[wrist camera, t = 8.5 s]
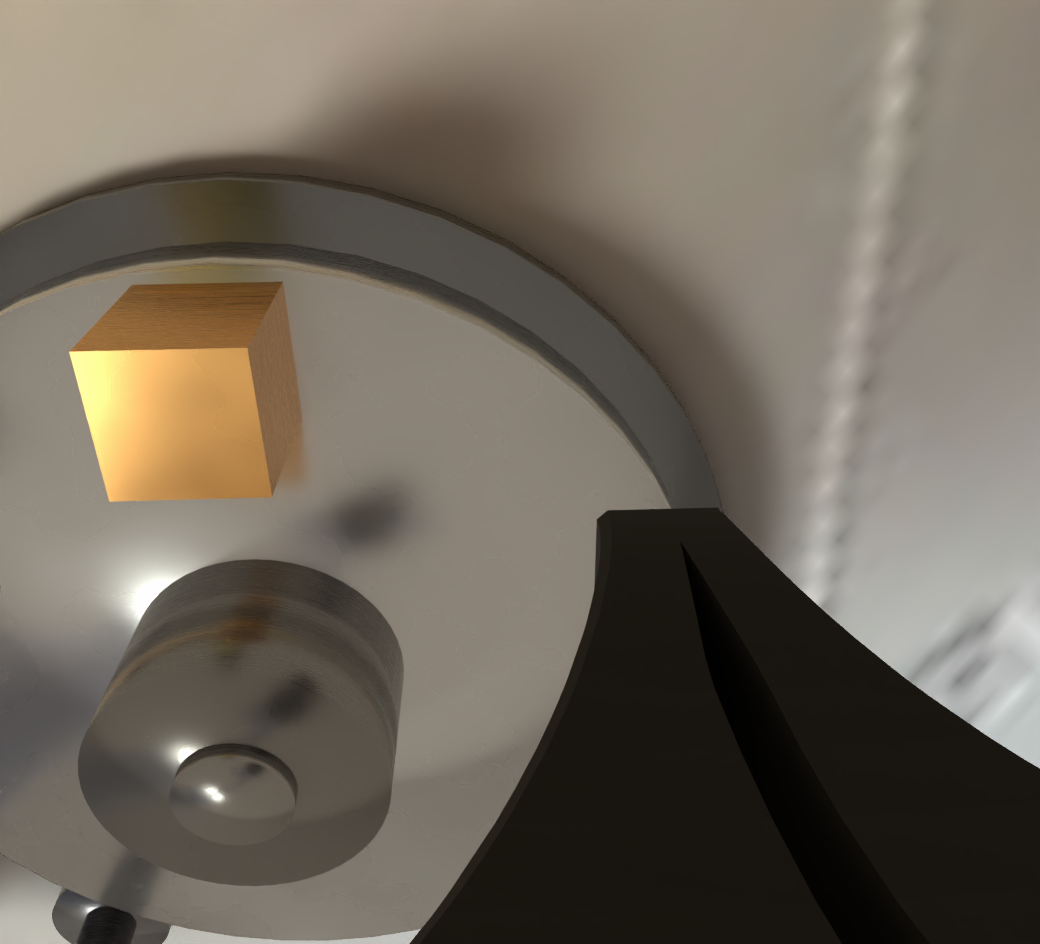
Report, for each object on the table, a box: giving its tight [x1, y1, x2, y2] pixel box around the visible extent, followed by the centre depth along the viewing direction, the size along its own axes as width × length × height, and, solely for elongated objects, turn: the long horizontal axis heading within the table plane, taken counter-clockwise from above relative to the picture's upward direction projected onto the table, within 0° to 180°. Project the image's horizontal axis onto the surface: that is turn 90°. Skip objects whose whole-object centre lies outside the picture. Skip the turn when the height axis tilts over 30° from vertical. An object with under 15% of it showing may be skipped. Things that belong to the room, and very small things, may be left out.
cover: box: [78, 559, 404, 886], centre depth 19 cm, size 6×6×4 cm
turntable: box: [0, 242, 673, 940], centre depth 20 cm, size 18×18×4 cm
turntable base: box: [0, 172, 724, 514], centre depth 22 cm, size 20×20×1 cm
